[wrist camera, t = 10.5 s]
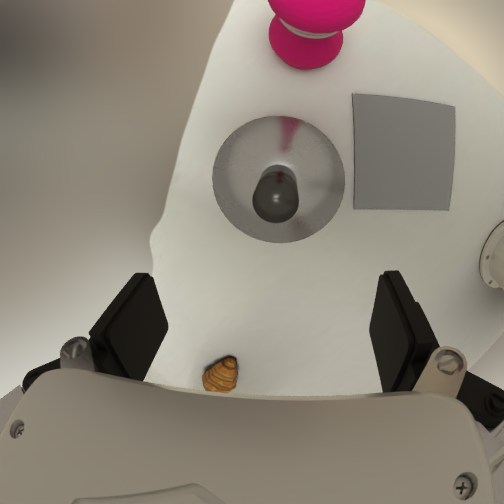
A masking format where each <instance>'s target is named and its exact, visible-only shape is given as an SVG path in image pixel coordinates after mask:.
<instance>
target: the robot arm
mask: <svg viewBox="0 0 504 504" xmlns="http://www.w3.org/2000/svg"><path fill="white" fill-rule="evenodd" d="M480 273H481V276H482V279H483V280H484V282H485V283H486V284H487V285H488V286H490V287H492V288H500V287H501V288H502V290H503V291H504V222H502V223H501V224H500V225H499V226H498V227H497V228H496V229H495V230H494V231H493V232H492V234H491V235H490V237H489V238H488V240H487V242H486V244H485V246H484V249H483V252H482V255H481V260H480ZM167 331H168V322H167V319H166V316H165V313H164V310H163V307H162V304H161V301H160V298H159V295H158V292H157V288H156V285H155V282H154V279H153V277H152V276H150V275H149V274H148V273H135V274H134V275H133V276H132V277H131V279H130V280H129V281H128V282H127V284H126V285H125V286H124V287H123V289H122V290H121V291H120V292H119V294H118V295H117V296H116V297H115V299H114V300H113V301H112V302H111V304H110V305H109V306H108V308H107V309H106V310H105V311H104V313H103V314H102V315H101V317H100V318H99V319H98V321H97V322H96V323H95V325H94V326H93V327H92V329H91V330H90V331H89V335H90V339H89V340H88V339H87V338H85V337H74V338H72V339H70V340H68V341H67V342H66V343H65V344H64V345H63V346H62V348H61V351H60V358H58V359H56V360H54V361H52V362H49V363H47V364H45V365H42V366H40V367H38V368H35V369H33V370H31V371H29V372H28V373H27V375H26V376H25V378H24V380H23V385H22V386H23V387H21V386H20V385H19V386H17V387H16V388H15V389H14V390H12V391H11V392H9V393H8V394H7V395H5V396H4V397H3V398H1V399H0V504H504V391H503V390H502V389H500V388H499V387H497V386H495V385H493V384H491V383H489V382H487V381H485V380H483V379H482V378H480V377H478V376H476V375H474V374H472V373H470V372H468V371H466V370H467V361H466V358H465V356H464V355H463V354H462V353H461V352H460V351H459V350H457V349H455V348H453V347H447V346H444V347H440V346H439V344H438V341H437V339H436V337H435V335H434V333H433V331H432V328H431V326H430V324H429V322H428V320H427V318H426V316H425V314H424V312H423V310H422V308H421V306H420V304H419V303H418V302H415V300H414V298H413V296H412V294H411V292H410V290H409V289H408V287H407V285H406V283H405V281H404V279H403V277H402V275H401V274H400V272H399V271H398V270H397V271H385V272H384V274H383V275H380V276H379V281H378V287H377V292H376V298H375V303H374V308H373V313H372V317H371V322H370V327H369V332H370V337H371V341H372V345H373V349H374V353H375V358H376V362H377V367H378V371H379V376H380V380H381V385H382V390H383V393H372V394H357V395H336V396H264V395H245V394H232V393H220V392H211V391H202V390H194V389H186V388H179V387H172V386H166V385H160V384H154V383H149V382H143V380H144V378H145V376H146V374H147V372H148V370H149V368H150V366H151V364H152V362H153V359H154V357H155V355H156V353H157V351H158V349H159V347H160V345H161V343H162V341H163V339H164V337H165V335H166V333H167Z"/></svg>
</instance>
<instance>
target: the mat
mask: <svg viewBox="0 0 504 504" xmlns="http://www.w3.org/2000/svg"><path fill="white" fill-rule="evenodd" d="M352 101H353V120H354V209H406V210H446V211H449V205H450V198H451V190H452V181H453V169H454V155H455V107H453V106H448V105H443V104H438V103H433V102H427V101H420V100H414V99H406V98H398V97H389V96H378V95H365V94H352Z"/></svg>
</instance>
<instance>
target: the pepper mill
mask: <svg viewBox="0 0 504 504" xmlns="http://www.w3.org/2000/svg"><path fill="white" fill-rule="evenodd" d="M268 2H269V4H270V6H271V8H272V10H273V11H274V12H275V14H276V15H275V17H274V18H273V19H272V22H271V24H270V28H269V40H270V44H271V46H272V48H273V50H274V51H275V53H276V54H277V55H278V56H279V57H280V58H281V59H282V60H283V61H284V62H286V63H287V64H289V65H290V66H292V67H295V68H298V69H314V68H317V67H321V66H324V65H326V64H328V63H330V62H331V61H332V60H334V59H335V58H336V56H337V55H338V54H339V52H340V50H341V47H342V44H343V34H342V30H344V29H346V28H348V27H349V26H351V25H352V24H353V23H354V22H355V21H356V20H357V19H358V18H359V17H360V15H361V14H362V12H363V9H364V6H365V0H268Z"/></svg>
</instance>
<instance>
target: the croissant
mask: <svg viewBox="0 0 504 504" xmlns="http://www.w3.org/2000/svg"><path fill="white" fill-rule="evenodd" d="M237 375H238V372H237V365H236V359H235V358H233V357H230V356H229V357H227V358H225V359H223V360H221V361H220V362H218V363H217V364H215V365H214V366H213V367H212V368H211V369H209V370H208V371H206V372H205V373H204V374H203V375H202V381H203V386H204V388H205V390H206V391H211V392H220V393H229V392H230V391H231V390H233V389H234V388H235V387H236V382H237V380H236V377H237Z"/></svg>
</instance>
